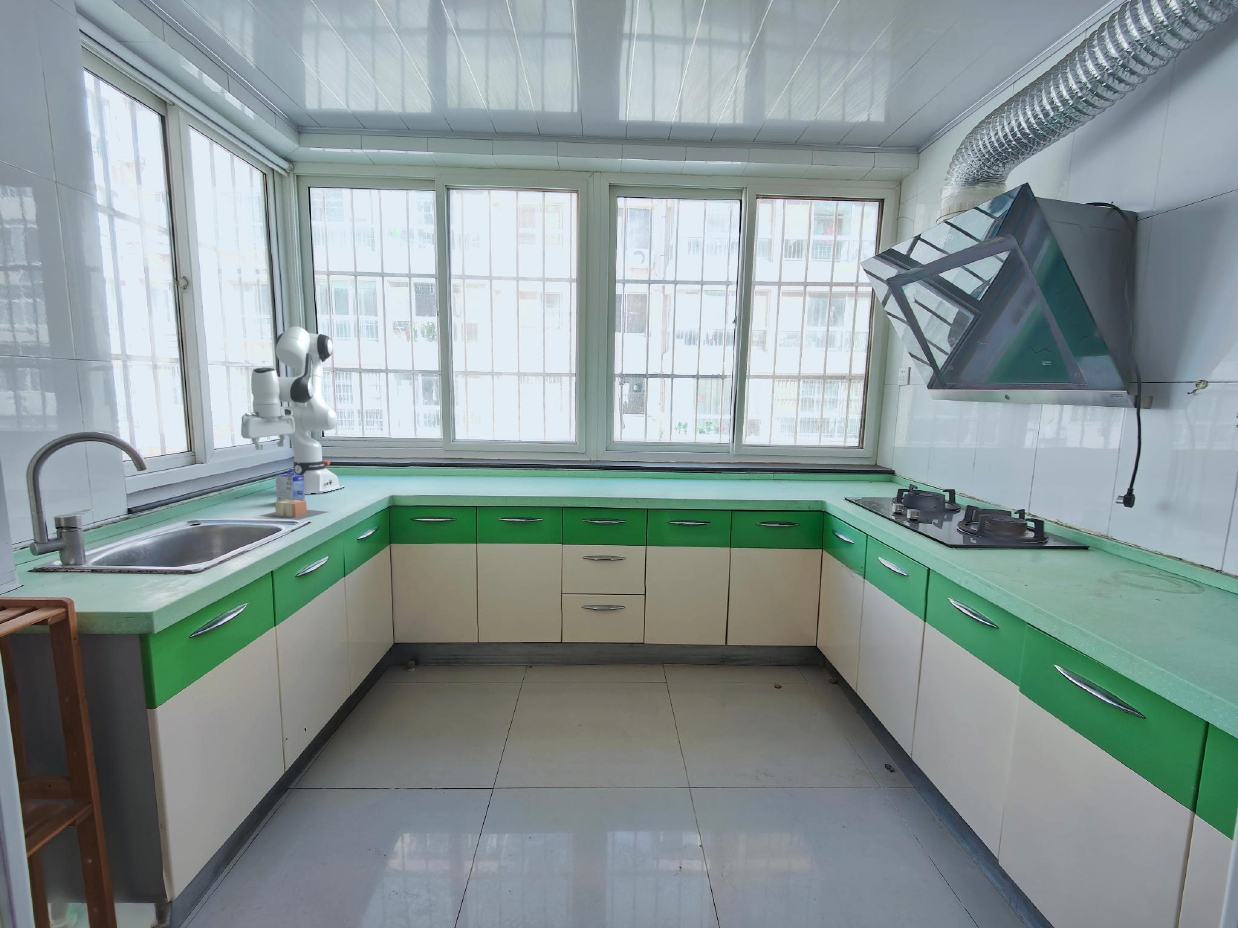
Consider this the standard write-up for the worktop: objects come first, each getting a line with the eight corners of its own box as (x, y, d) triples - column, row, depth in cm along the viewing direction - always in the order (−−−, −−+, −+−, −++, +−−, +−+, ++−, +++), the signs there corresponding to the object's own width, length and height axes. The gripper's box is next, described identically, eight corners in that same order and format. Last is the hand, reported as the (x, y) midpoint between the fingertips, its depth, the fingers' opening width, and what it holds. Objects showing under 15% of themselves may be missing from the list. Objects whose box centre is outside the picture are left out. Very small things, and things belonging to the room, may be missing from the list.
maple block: (286, 499, 202) (306, 501, 200) (287, 512, 203) (306, 514, 200) (274, 502, 197) (294, 503, 195) (275, 515, 198) (295, 517, 196)
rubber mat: (292, 509, 210) (291, 508, 210) (329, 513, 205) (329, 511, 205) (259, 516, 197) (259, 515, 197) (298, 521, 192) (298, 519, 192)
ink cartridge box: (306, 504, 220) (304, 469, 218) (293, 506, 215) (291, 471, 213) (288, 502, 223) (286, 467, 221) (276, 504, 218) (273, 469, 216)
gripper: (248, 413, 190) (251, 452, 193) (296, 410, 210) (299, 445, 212) (234, 412, 192) (238, 451, 194) (283, 409, 212) (286, 444, 214)
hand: (270, 448), depth 203 cm, fingers open, 8 cm apart
